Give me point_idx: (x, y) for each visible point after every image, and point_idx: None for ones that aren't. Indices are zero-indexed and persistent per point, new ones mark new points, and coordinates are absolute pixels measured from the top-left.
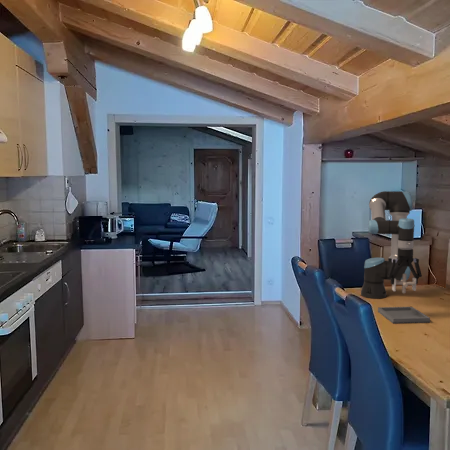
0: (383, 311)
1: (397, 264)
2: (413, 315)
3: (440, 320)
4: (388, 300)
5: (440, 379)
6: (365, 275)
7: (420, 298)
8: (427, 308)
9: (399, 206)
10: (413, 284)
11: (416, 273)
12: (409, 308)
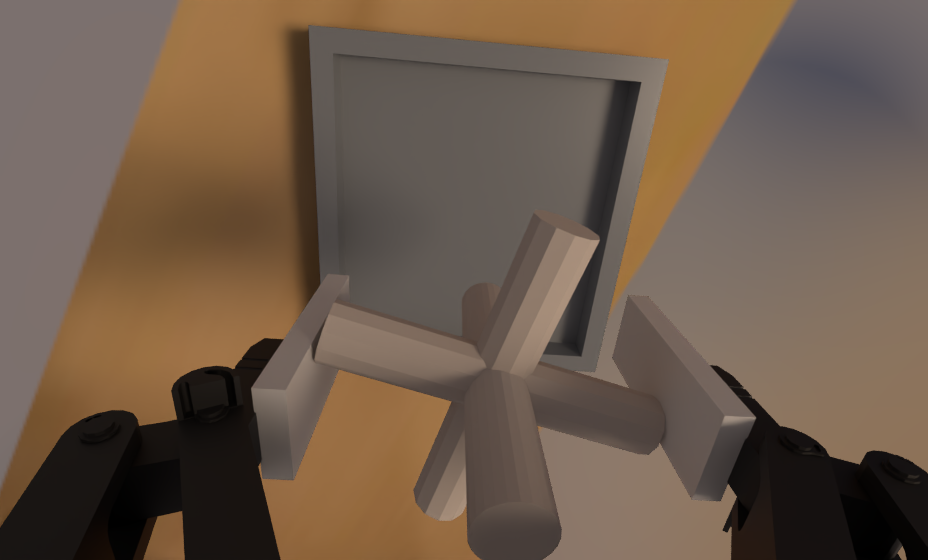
0: (617, 276)
1: None
2: (385, 209)
3: (198, 80)
4: (381, 539)
5: None
6: None
7: (155, 549)
8: (187, 372)
9: None
10: (356, 306)
11: (184, 493)
12: None
